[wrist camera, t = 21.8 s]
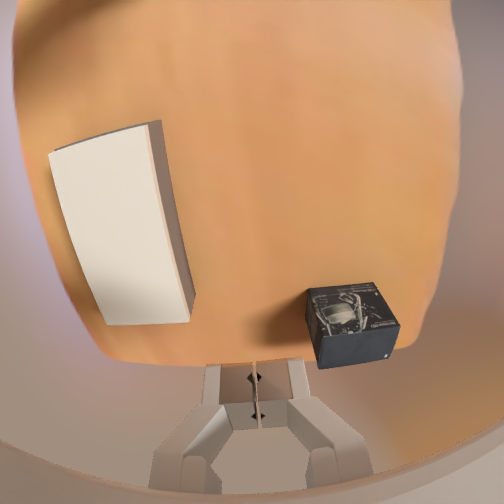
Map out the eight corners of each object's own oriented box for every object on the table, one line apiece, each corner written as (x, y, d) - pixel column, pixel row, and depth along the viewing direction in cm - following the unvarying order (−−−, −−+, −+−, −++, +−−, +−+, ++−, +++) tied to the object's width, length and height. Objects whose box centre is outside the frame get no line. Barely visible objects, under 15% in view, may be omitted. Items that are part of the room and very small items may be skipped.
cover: (53, 151, 25) (47, 153, 24) (147, 124, 25) (144, 125, 24) (109, 319, 36) (107, 325, 35) (190, 315, 36) (189, 322, 35)
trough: (71, 143, 30) (49, 151, 25) (161, 119, 29) (147, 122, 25) (117, 298, 41) (106, 319, 37) (195, 293, 41) (190, 316, 36)
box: (374, 279, 41) (402, 325, 32) (367, 313, 44) (390, 360, 35) (306, 286, 41) (322, 338, 32) (304, 320, 44) (317, 372, 35)
